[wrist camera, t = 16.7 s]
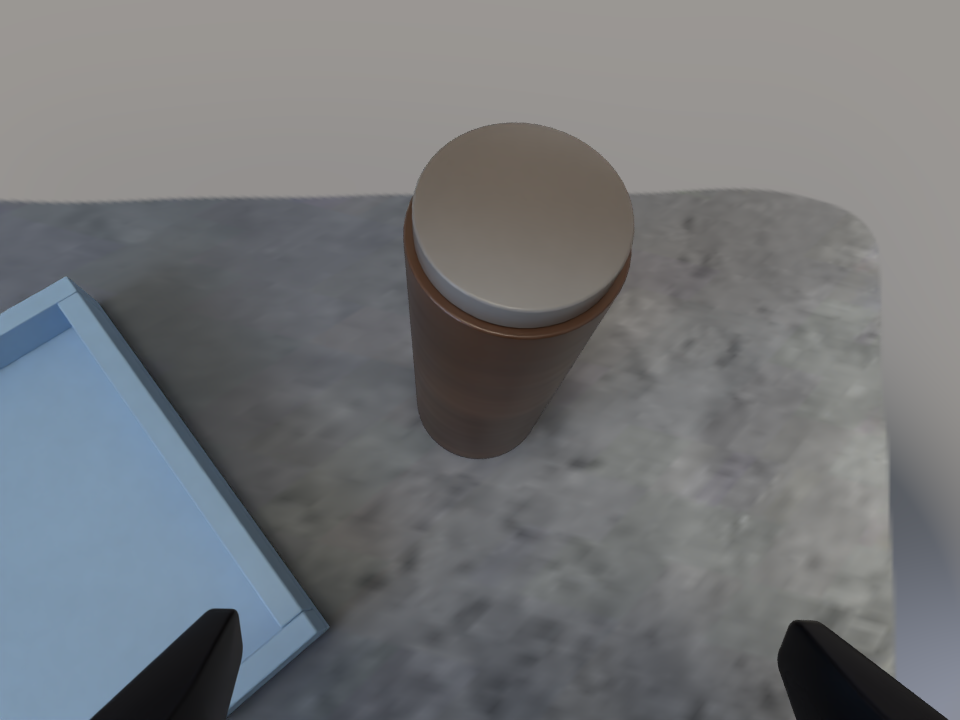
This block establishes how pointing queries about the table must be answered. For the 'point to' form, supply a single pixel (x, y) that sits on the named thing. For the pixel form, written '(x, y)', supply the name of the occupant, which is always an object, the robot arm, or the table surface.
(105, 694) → the tray
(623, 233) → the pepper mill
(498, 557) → the table surface
